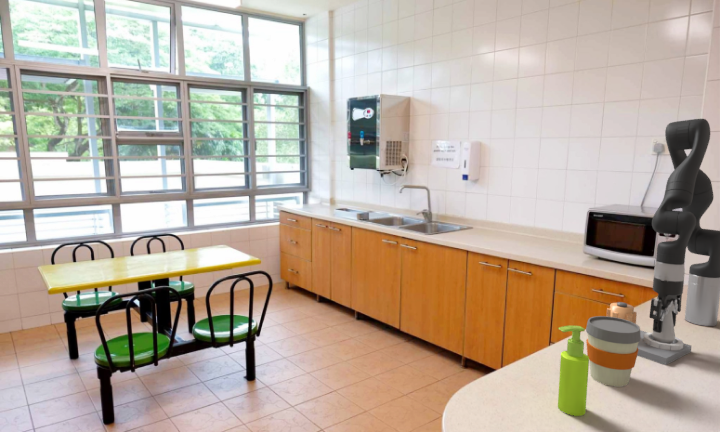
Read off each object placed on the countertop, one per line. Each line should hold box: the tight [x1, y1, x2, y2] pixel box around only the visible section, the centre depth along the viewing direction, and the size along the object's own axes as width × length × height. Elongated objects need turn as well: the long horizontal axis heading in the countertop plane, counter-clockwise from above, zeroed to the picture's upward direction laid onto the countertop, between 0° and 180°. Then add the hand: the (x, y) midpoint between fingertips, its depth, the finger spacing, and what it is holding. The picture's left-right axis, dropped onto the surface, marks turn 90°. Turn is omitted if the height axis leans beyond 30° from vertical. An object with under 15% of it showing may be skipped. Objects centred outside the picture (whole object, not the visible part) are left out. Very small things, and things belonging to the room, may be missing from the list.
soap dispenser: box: [557, 325, 590, 417], centre depth 105 cm, size 6×7×20 cm
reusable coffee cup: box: [585, 315, 641, 388], centre depth 120 cm, size 13×13×15 cm
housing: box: [606, 301, 692, 366], centre depth 141 cm, size 16×21×13 cm
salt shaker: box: [651, 304, 676, 344], centre depth 138 cm, size 6×6×13 cm
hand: (664, 328), depth 138 cm, fingers open, 8 cm apart
